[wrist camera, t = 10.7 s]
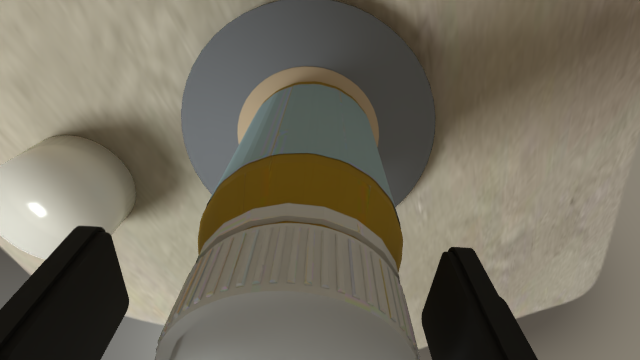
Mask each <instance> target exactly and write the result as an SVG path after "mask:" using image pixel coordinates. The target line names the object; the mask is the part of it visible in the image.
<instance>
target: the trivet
mask: <svg viewBox="0 0 640 360" xmlns="http://www.w3.org/2000/svg"><path fill="white" fill-rule="evenodd" d="M312 81H316V82H322V83H326V84H329V85H333V86H336V87H338V88H340V89H342V90H343V91H345V92H346V93H347V94H349V95H350V96H352V97H353V98H354V99H355V100H356V101H357V102H358V104H359V105H360V106H361V108H362V109H363V110H364V112H365V114H366V115H367V118H368V120H369V123H370V126H371V129H372V132H373V135H374V139H375V142H376V145H377V149H378V152H379V155H380V159H381V162H382V165H383V169H384V172H385V175H386V179H387V182H388V185H389V189H390V192H391V195H392V199H393V202H394V205H395V207H396V206H397V205H398V204H399V203H400V202H401V201H402V200H403V199H404V198H405V197H406V196H407V195H408V193H409V192H410V191H411V190H412V189H413V187H414V186H415V184H416V183H417V181H418V180H419V178H420V176H421V175H422V173H423V170H424V168H425V166H426V164H427V162H428V159H429V156H430V153H431V150H432V145H433V140H434V134H435V109H434V100H433V96H432V92H431V88H430V84H429V82H428V80H427V77H426V75H425V72H424V70H423V68H422V66H421V64H420V63H419V61H418V59H417V58H416V56H415V54H414V53H413V52H412V50H411V49H410V48H409V47H408V45H407V44H406V43H405V42H404V41H403V39H402V38H400V37H399V36H398V35H397V34H396V33H395V32H394V31H393V30H392V29H391V28H390V27H388V26H387V25H386V24H384V23H383V22H381V21H380V20H378V19H377V18H375V17H374V16H372V15H371V14H369V13H367V12H365V11H363V10H361V9H359V8H356V7H354V6H351V5H348V4H345V3H342V2H339V1H334V0H279V1H275V2H272V3H268V4H265V5H262V6H260V7H257V8H255V9H253V10H251V11H249V12H246V13H244V14H242V15H241V16H239V17H238V18H236V19H235V20H233V21H231V22H230V23H228V24H227V25H226V26H225V27H224V28H222V29H221V30H220V31H219V32H218V33H217V34H216V35H215V36H213V38H212V39H211V40H210V41H209V43H208V44H207V45H206V46H205V47H204V49H203V50H202V51H201V53H200V55H199V56H198V58H197V60H196V61H195V63H194V65H193V67H192V69H191V72H190V74H189V76H188V79H187V82H186V86H185V90H184V94H183V100H182V109H181V120H182V132H183V138H184V143H185V147H186V150H187V153H188V156H189V159H190V161H191V163H192V165H193V167H194V169H195V171H196V173H197V175H198V176H199V178H200V179H201V181H202V183H203V184H204V186H205V187H206V188H207V189H208V190H209V192H210V193H211V194H213V193H214V191H215V189H216V187H217V185H218V183H219V181H220V179H221V178H222V176H223V174H224V172H225V170H226V168H227V166H228V165H229V163H230V161H231V159H232V157H233V155H234V153H235V151H236V150H237V148H238V146H239V144H240V142H241V140H242V138H243V136H244V135H245V133H246V131H247V129H248V127H249V125H250V123H251V121H252V120H253V118H254V116H255V114H256V113H257V111H258V109H259V108H260V106H261V105H262V104H263V102H264V101H265V100H266V99H267V98H269V97H270V96H271V95H272V94H273V93H275V92H276V91H277V90H279V89H281V88H283V87H286V86H288V85H291V84H294V83H298V82H312Z"/></svg>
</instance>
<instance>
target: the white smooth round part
mask: <svg viewBox="0 0 640 360" xmlns="http://www.w3.org/2000/svg"><path fill="white" fill-rule="evenodd" d="M135 201H136V187H135V183H134V180H133V178H132V176H131V174H130V172H129V170H128V169H127V167H126V166H125V165H124V163H123V162H122V161H121V160H120V159H119V158H118V157H117V156H116V155H115V154H114V153H112V152H111V151H110V150H108V149H107V148H105V147H104V146H102V145H100V144H98V143H96V142H94V141H92V140H89V139H86V138H82V137H78V136H71V135H60V136H54V137H50V138H48V139H45V140H43V141H41V142H40V143H38V144H36V145H34V146H33V147H31V148H29V149H27V150H26V151H24V152H22V153H21V154H19V155H17V156H15V157H14V158H12V159H10V160H8V161H7V162H5V163H3V164H1V165H0V235H1V236H2V237H3V238H4V239H5V240H6V241H8V242H9V243H10V244H12V245H13V246H15V247H17V248H18V249H20V250H22V251H24V252H26V253H28V254H30V255H33V256H35V257H38V258H42V259H45V260H46V259H47V258H48V257H49V256H50V255H51V253H52V252H53V251H54V250H55V249H56V248H57V247H58V246H59V245H60V244H61V242H62V241H63V240H64V239H65V238H66V237H67V236H68V235H69V234H70V233H71V231H72V230H73V229H74V228H76V227H77V226H97V227H103V228H104V229H105V232H108V233H110V234H111V235H112V234H113V233H114V231H115V230H116V229H117V228H118V227H119V225H120V224H121V223H122V222H123V220H124V219H125V218H126V217H127V216H128V214H129V213H130V212H131V210H132V209H133V207H134V204H135Z"/></svg>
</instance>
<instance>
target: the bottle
mask: <svg viewBox="0 0 640 360" xmlns="http://www.w3.org/2000/svg"><path fill="white" fill-rule="evenodd" d="M402 247H403V237H402V232H401V228H400V222H399V219H398V215H397V212H396V209H395V205H394V202H393V199H392V195H391V192H390V189H389V185H388V182H387V179H386V175H385V172H384V169H383V165H382V162H381V159H380V155H379V152H378V149H377V145H376V142H375V139H374V135H373V132H372V129H371V126H370V123H369V120H368V118H367V115H366V114H365V112H364V110H363V109H362V108H361V106H360V105H359V104H358V102H357V101H356V100H355V99H354V98H353V97H352V96H350V95H349V94H347V93H346V92H345V91H343V90H342V89H340V88H338V87H336V86H333V85H329V84H326V83H322V82H316V81H312V82H298V83H294V84H291V85H288V86H286V87H283V88H281V89H279V90H277V91H276V92H275V93H273V94H272V95H271V96H270V97H269V98H267V99H266V100H265V101H264V102H263V104H262V105H261V106H260V108H259V109H258V111H257V113H256V114H255V116H254V118H253V120H252V121H251V123H250V125H249V127H248V129H247V131H246V133H245V135H244V136H243V138H242V140H241V142H240V144H239V146H238V148H237V150H236V151H235V153H234V155H233V157H232V159H231V161H230V163H229V165H228V166H227V168H226V170H225V172H224V174H223V176H222V178H221V179H220V181H219V183H218V185H217V187H216V189H215V191H214V193H213V194H212V196H211V198H210V200H209V202H208V204H207V206H206V209H205V211H204V213H203V216H202V218H201V221H200V228H199V236H198V253H199V256H198V258H197V261H196V264H195V265H194V267H193V268H192V270H191V273H189V275H188V277H187V279H186V281H185V283H184V285H183V288H182V290H181V292H180V294H179V296H178V298H177V300H176V302H175V305H174V307H173V309H172V311H171V313H170V315H169V317H168V320H167V322H166V324H165V326H164V328H163V330H162V333H161V335H160V337H159V340H158V346H157V349H156V357H155V360H420V359H419V352H418V348H417V344H416V340H415V336H414V332H413V327H412V323H411V319H410V315H409V311H408V307H407V303H406V299H405V295H404V293H403V289H402V286H401V285H400V280H399V274H398V272H399V268H400V264H401V260H402Z"/></svg>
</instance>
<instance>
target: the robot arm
mask: <svg viewBox="0 0 640 360" xmlns="http://www.w3.org/2000/svg"><path fill="white" fill-rule="evenodd" d="M128 305H129V297H128V294H127V290H126V287H125V283H124V280H123V276H122V272H121V269H120V265H119V262H118V258H117V255H116V251H115V248H114V244H113V240H112V237H111V234H110V233H108V232H105V229H104V228H103V227H97V226H77V227H76V228H74V229H73V230H72V231H71V233H70V234H69V235H68V236H67V237H66V238H65V239H64V240H63V241H62V242H61V244H60V245H59V246H58V247H57V248H56V249H55V250H54V251H53V252H52V253H51V255H50V256H49V257H48V258H47V259H46V260H45V261H44V262H43V263H42V264H41V266H40V267H39V268H38V269H37V270H36V271H35V272H34V273H33V274H32V275H31V277H30V278H29V279H28V280H27V281H26V282H25V283H24V284H23V285H22V287H21V288H20V289H19V290H18V291H17V292H16V293H15V294H14V295H13V297H11V299H10V300H9V301H8V302H7V303H6V304H5V305H4V306H3V308H1V310H0V360H100V359H101V358H102V356H103V354H104V352H105V350H106V348H107V347H108V345H109V343H110V341H111V339H112V337H113V336H114V334H115V332H116V330H117V328H118V326H119V325H120V323H121V321H122V319H123V317H124V315H125V314H126V312H127V309H128ZM422 326H423V329H424V333H425V336H426V340H427V343H428V347H429V350H430V354H431V357H432V360H538V359H537V358H536V356H535V354H534V352H533V350H532V348H531V346H530V345H529V343H528V341H527V339H526V338H525V336H524V334H523V332H522V330H521V329H520V327H519V325H518V323H517V321H516V319H515V318H514V316H513V314H512V312H511V310H510V309H509V307H508V305H507V303H506V302H505V301H504V299H502V298H501V297H499V295H498V293H497V292H496V290H495V288H494V286H493V284H492V282H491V281H490V279H489V277H488V275H487V273H486V271H485V270H484V268H483V266H482V264H481V262H480V260H479V258H478V257H477V255H476V253H475V251H474V250H473V249H472V248H460V247H451V248H450V249H449V250H448V252H443V254H442V256H441V259H440V262H439V265H438V268H437V271H436V274H435V277H434V280H433V283H432V285H431V288H430V291H429V294H428V297H427V300H426V303H425V306H424V309H423V312H422Z"/></svg>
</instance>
